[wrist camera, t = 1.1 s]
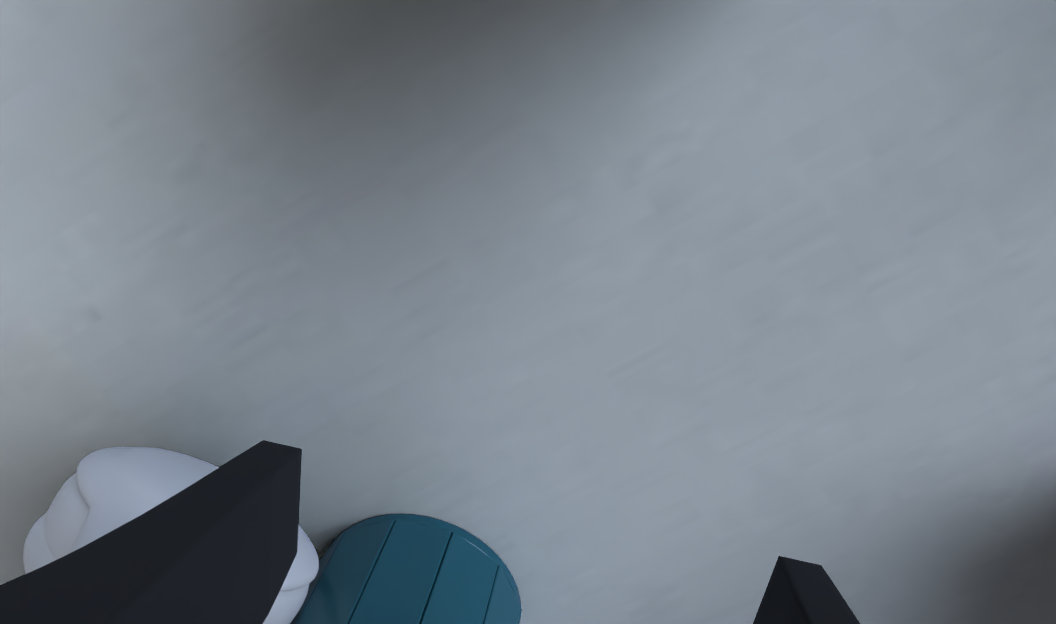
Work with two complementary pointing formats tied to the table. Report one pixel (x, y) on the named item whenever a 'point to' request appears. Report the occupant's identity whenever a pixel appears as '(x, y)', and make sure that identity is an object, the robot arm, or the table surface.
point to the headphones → (139, 512)
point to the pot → (410, 577)
